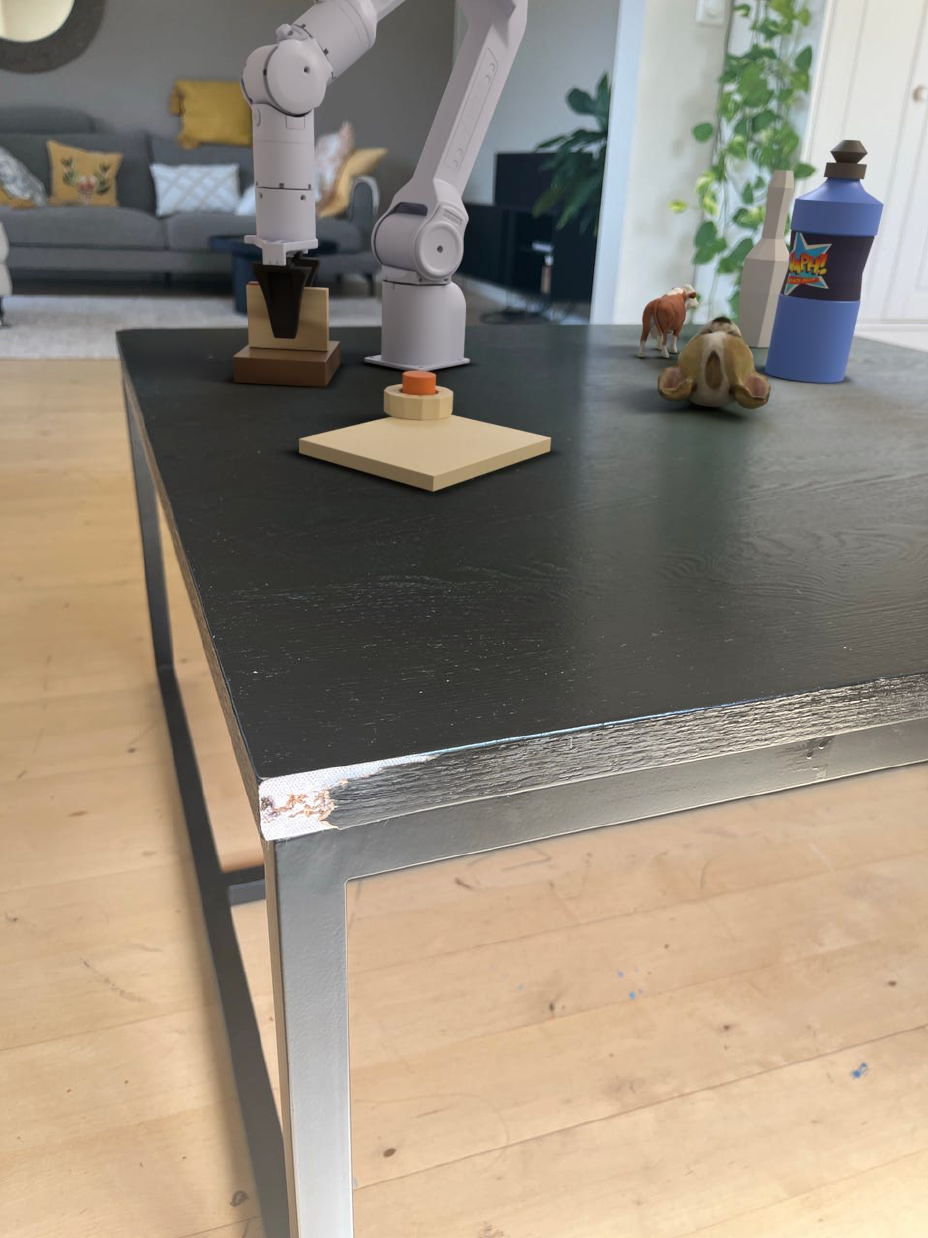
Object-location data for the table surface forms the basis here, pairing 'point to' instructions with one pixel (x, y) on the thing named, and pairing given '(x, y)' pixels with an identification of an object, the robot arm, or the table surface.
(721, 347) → the ceramic sculpture
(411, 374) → the button
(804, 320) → the water bottle
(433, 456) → the beige button base
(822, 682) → the table surface
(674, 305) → the bull figurine
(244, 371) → the stand
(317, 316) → the light wood flat panel
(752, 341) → the low poly bottle
